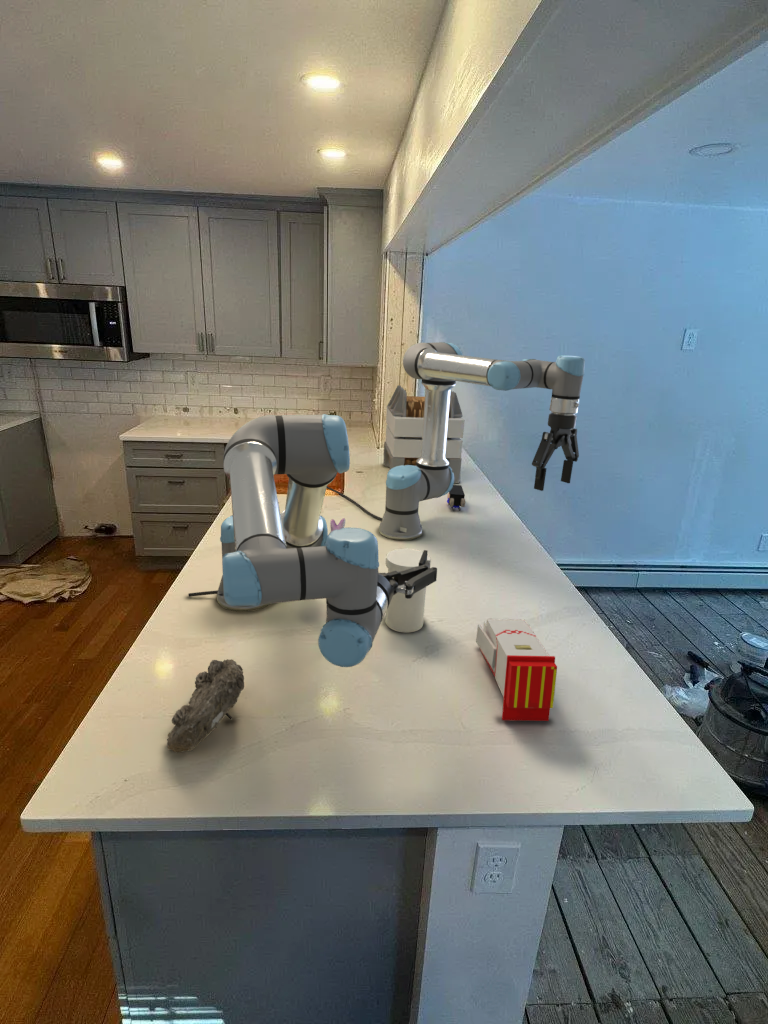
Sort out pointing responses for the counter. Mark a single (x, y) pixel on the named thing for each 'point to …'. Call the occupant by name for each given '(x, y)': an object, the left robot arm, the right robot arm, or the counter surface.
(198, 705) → the fossil
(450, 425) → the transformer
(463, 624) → the counter surface
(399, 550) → the lid
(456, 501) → the figurine character
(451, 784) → the counter surface
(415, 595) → the jar
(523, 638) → the toy
